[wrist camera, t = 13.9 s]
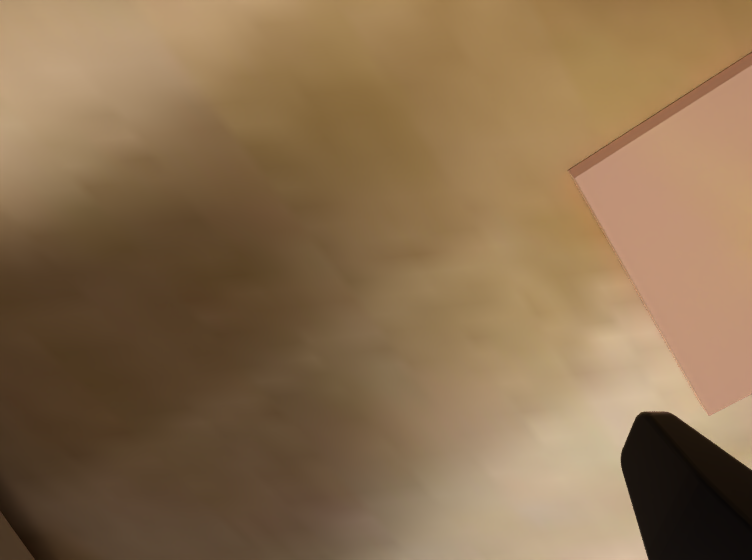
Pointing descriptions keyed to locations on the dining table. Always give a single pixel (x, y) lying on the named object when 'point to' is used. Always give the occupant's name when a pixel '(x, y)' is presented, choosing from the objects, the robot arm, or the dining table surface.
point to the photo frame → (11, 543)
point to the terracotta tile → (687, 227)
